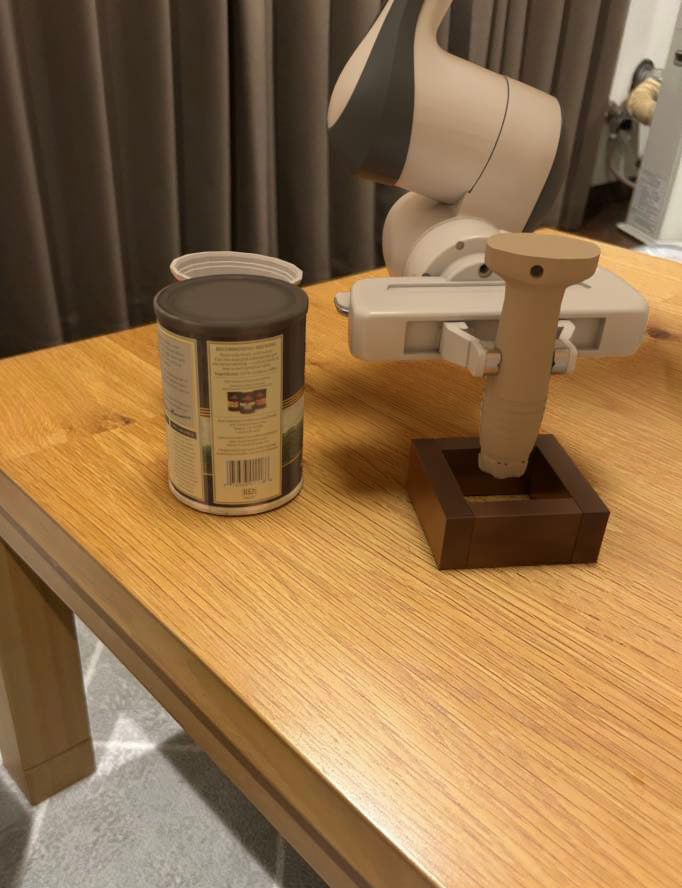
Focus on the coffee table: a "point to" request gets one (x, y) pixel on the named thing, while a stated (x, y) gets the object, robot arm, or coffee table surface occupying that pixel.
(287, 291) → the coffee can
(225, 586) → the coffee table surface
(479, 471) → the stand
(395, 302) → the robot arm
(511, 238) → the handle
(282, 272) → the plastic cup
